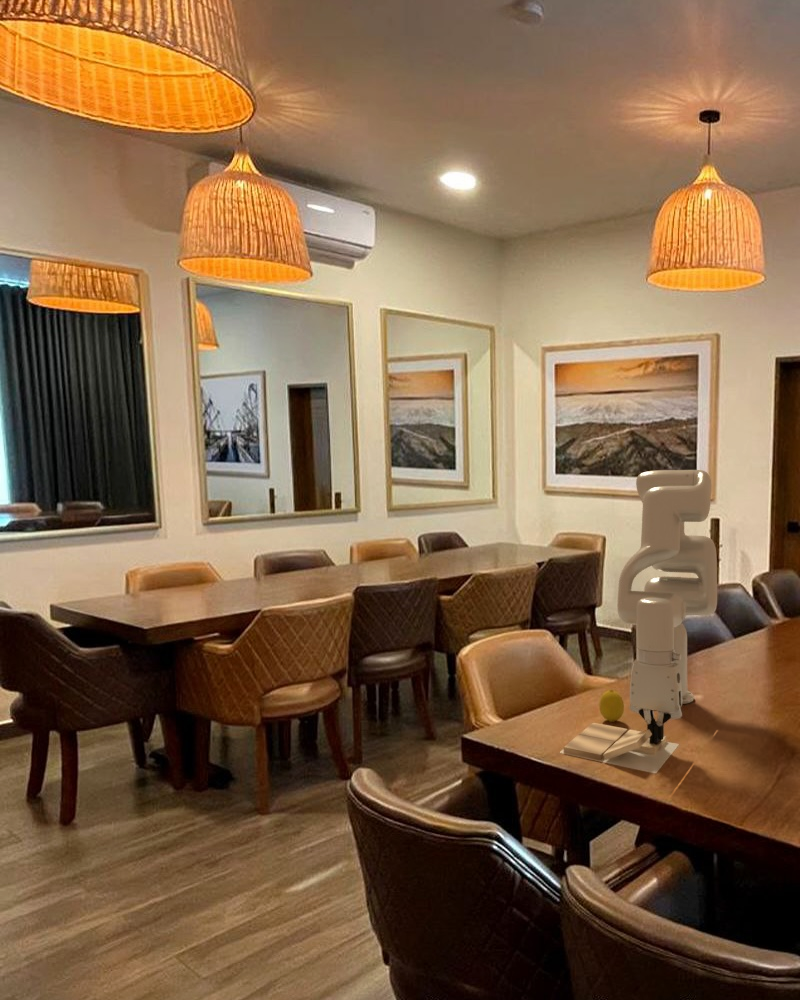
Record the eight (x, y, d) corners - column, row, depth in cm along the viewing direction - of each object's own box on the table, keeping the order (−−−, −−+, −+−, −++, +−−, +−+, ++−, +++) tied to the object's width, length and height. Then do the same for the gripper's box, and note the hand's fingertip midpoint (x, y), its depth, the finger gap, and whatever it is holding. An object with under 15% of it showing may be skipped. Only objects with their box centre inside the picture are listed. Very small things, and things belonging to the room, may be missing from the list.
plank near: (619, 746, 156) (616, 741, 156) (652, 734, 152) (649, 729, 152) (605, 760, 149) (602, 754, 149) (639, 747, 145) (636, 741, 145)
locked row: (592, 727, 169) (592, 722, 169) (627, 734, 164) (627, 728, 164) (563, 752, 154) (563, 746, 154) (600, 760, 150) (600, 754, 150)
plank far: (629, 734, 164) (629, 729, 164) (666, 741, 159) (666, 736, 159) (617, 746, 157) (617, 741, 157) (655, 754, 152) (655, 748, 152)
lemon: (607, 728, 169) (607, 694, 169) (595, 720, 175) (594, 687, 174) (628, 725, 171) (628, 691, 171) (615, 717, 176) (615, 685, 176)
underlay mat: (589, 728, 169) (589, 727, 169) (679, 746, 158) (679, 744, 158) (559, 754, 154) (559, 752, 154) (655, 775, 143) (655, 773, 143)
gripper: (696, 657, 154) (696, 743, 155) (625, 648, 163) (626, 730, 163) (687, 665, 148) (687, 754, 149) (614, 655, 157) (615, 740, 157)
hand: (655, 741), depth 156 cm, fingers closed
